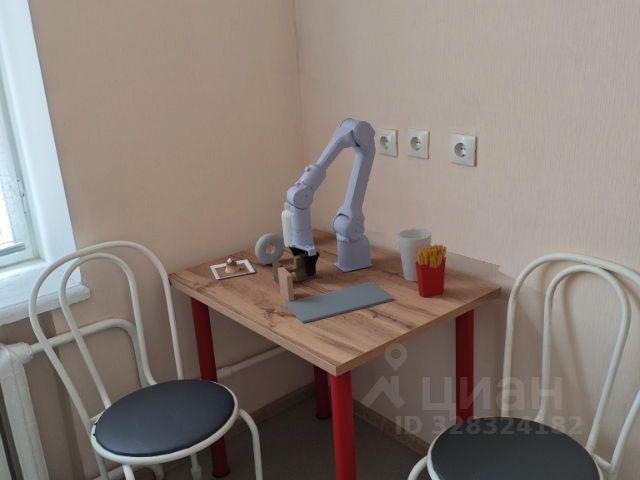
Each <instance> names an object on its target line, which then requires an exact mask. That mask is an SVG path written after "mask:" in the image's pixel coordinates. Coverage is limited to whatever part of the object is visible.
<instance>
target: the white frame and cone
mask: <svg viewBox="0 0 640 480" xmlns="http://www.w3.org/2000/svg"><path fill="white" fill-rule="evenodd" d="M243 263H244V265H245V266H246V268H247V270H248V271H249V272H245V273H239V274H235V273H238V272H239V271H240V270H241V268H240V267H239V265H240V264H243ZM209 267H210V269H211V271H212V274H213V275H214V277H215V279H216V280H223V279H229V278H234V277H239V276H245V275H248V274H250V275H251V274H254V273H255V272H256V271H255V269H254V267H253V266H252V265H251V263H250V261H249V260H248V259H247V258H246V259H242V260H234V259H233V258H228V259H227V261H226V262H225V263H220V264H214V265H210V266H209ZM224 267H225V271H224V272H225V273H226V274H234V275H228V276H224V277H220V276H219V274H218V272H217V270H216V269H217V268H224Z"/></svg>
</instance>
